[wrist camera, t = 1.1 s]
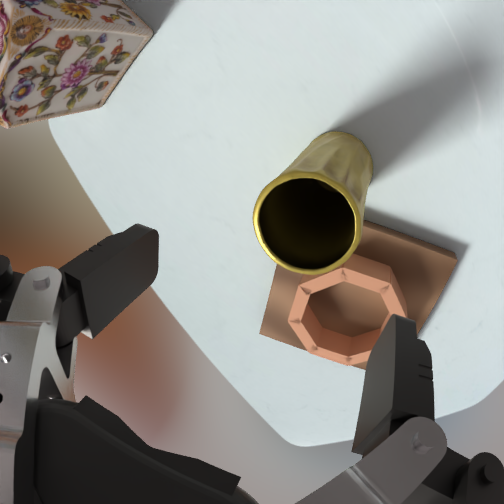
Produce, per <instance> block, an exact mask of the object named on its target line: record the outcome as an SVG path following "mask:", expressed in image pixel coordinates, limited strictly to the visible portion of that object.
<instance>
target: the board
mask: <svg viewBox="0 0 504 504" xmlns="http://www.w3.org/2000/svg"><path fill="white" fill-rule="evenodd" d="M353 254H356V255H359V256H362V257H365V258H368V259H371V260H374V261H377V262H379V263H382V264H385V265H388V266H390V267H391V269H392V271H393V273H394V275H395V277H396V280H397V282H398V284H399V286H400V289H401V291H402V293H403V295H404V298H405V300H406V302H407V317H408V318H409V319H412V320H415V322H416V329H417V334H418V332H419V331H420V329H421V327H422V326H423V324H424V322H425V321H426V319H427V317H428V316H429V314H430V312H431V310H432V309H433V307H434V305H435V303H436V301H437V300H438V298H439V296H440V294H441V292H442V290H443V288H444V287H445V285H446V283H447V281H448V279H449V277H450V275H451V273H452V271H453V269H454V267H455V265H456V263H457V261H458V260H457V257H456V255H455V253H454V252H451V251H448V250H446V249H443V248H441V247H438V246H435V245H433V244H430V243H428V242H425V241H422V240H419V239H417V238H414V237H411V236H409V235H406V234H403V233H400V232H397V231H395V230H392V229H389V228H386V227H383V226H380V225H377V224H375V223H372V222H369V221H366V220H363V231H362V237H361V240H360V242H359V244H358V246H357V248H356V250H355V251H354V252H353ZM302 277H303V274H301V273H296V272H292V271H290V270H287V269H285V268H283V267H282V266H280V265H278V264H277V266H276V270H275V274H274V278H273V282H272V286H271V290H270V294H269V298H268V302H267V306H266V310H265V314H264V318H263V321H262V325H261V329H260V333H259V334H261V335H264V336H267V337H270V338H272V339H275V340H278V341H280V342H283V343H286V344H289V345H292V346H294V347H297V348H300V349H303V350H306V351H307V349H306V348H305V346H304V345H303V343H302V342H301V340H300V339H299V337H298V336H297V334H296V333H295V332H294V330H293V329H292V327H291V326H290V324H289V323H288V318H289V315H290V311H291V308H292V305H293V302H294V299H295V295H296V292H297V289H298V286H299V283H300V281H301V279H302ZM308 305H309V306H310V308H311V310H312V311H313V313H314V314H315V316H316V318H317V319H318V321H319V322H320V324H321V326H322V327H323V328H325V329H328V330H331V331H334V332H337V333H340V334H343V335H346V336H349V337H354V336H357V335H361V334H364V333H367V332H370V331H373V330H376V329H379V328H381V326H382V325H383V323H384V321H385V319H386V317H387V315H388V313H389V311H388V309H387V306H386V304H385V302H384V300H383V298H382V296H381V294H380V293H378V292H375V291H372V290H369V289H366V288H363V287H360V286H357V285H354V284H351V283H348V282H345V281H343V282H340V283H338V284H335V285H333V286H330V287H327V288H325V289H322V290H320V291H317V292H314V293H312V294H311V295H310V298H309V301H308ZM366 365H367V361H365V362H361V363H358V364H354V365H351V366H354V367H357V368H361V369H364V370H366Z"/></svg>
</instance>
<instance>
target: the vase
mask: <svg viewBox="0 0 504 504" xmlns="http://www.w3.org/2000/svg"><path fill="white" fill-rule="evenodd" d="M372 175H373V163H372V158H371V155H370V153H369V151H368V150H367V148H366V147H365V146H364V144H363V143H362V142H361V141H360V140H359V139H357V138H356V137H354V136H352V135H350V134H348V133H344V132H328V133H325V134H322V135H320V136H319V137H317V138H316V139H314V140H313V141H312V142H311V143H310V145H309V146H308V147H307V148H306V149H305V150H304V151H303V152H302V153H301V154H300V155H299V156H298V157H297V158H296V159H295V160H294V161H293V163H292V164H291V165H290V166H289V167H288V168H287V169H286V170H284V171H283V172H282V173H281V174H280V175H279V176H278V177H277V178H276V179H274V180H273V181H272V182H270V183H269V184H268V185H267V186H266V187H265V188H264V189H263V190H262V191H261V193H260V195H259V197H258V199H257V201H256V204H255V207H254V211H253V225H254V230H255V233H256V237H257V239H258V241H259V243H260V245H261V246H262V248H263V249H264V251H265V252H266V253H267V255H268V256H269V257H270V258H271V259H272V260H273V261H274V262H276V263H277V264H278V265H280V266H282V267H283V268H285V269H287V270H290V271H292V272H296V273H301V274H307V275H317V274H323V273H326V272H329V271H331V270H333V269H335V268H337V267H338V266H340V265H342V264H343V263H344V262H346V261H347V260H348V259H349V258H350V257H351V255H352V254H353V252H354V251H355V250H356V248H357V246H358V244H359V242H360V240H361V237H362V231H363V218H364V209H365V200H366V195H367V189H368V186H369V183H370V181H371V178H372Z"/></svg>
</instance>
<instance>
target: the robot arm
mask: <svg viewBox="0 0 504 504" xmlns="http://www.w3.org/2000/svg"><path fill="white" fill-rule="evenodd" d="M158 252H159V234H158V232H157V230H155V229H152V228H149V227H146V226H144V225H141V224H135V225H133V226H131V227H130V228H128V229H127V230H125V231H124V232H121V233H117V234H114V235H111V236H108V237H106V238H105V239H103V240H102V241H100V242H99V243H97V245H94V246H92V247H91V248H89V250H88V251H87V250H86V251H85V252H83V253H82V254H80V255H79V256H77V257H76V258H74V259H73V260H71V261H70V262H68V263H67V264H65V265H64V266H62V267H61V268H60V269H56V268H54V267H49V266H42V267H37V268H34V269H32V270H30V271H28V272H27V273H26V274H22V273H18V272H13V271H12V267H11V264H10V260H9V259H8V257H6V256H3V255H0V504H258V503H257V501H256V500H255V499H254V498H253V497H251V496H250V495H249V494H248V493H246V491H244V490H242V489H241V488H240V487H238V486H237V485H238V483H239V480H240V478H241V477H239V476H237V475H234V474H232V473H229V472H227V471H224V470H222V469H219V468H217V467H215V466H213V465H210V464H208V463H206V462H204V461H201V460H199V459H196V458H191V457H187V456H183V455H178V454H174V453H170V452H166V451H163V450H159V449H155V448H152V447H150V446H149V445H147V444H146V443H145V442H144V441H143V440H142V439H141V438H140V437H138V436H137V435H136V434H135V433H134V432H133V431H132V430H131V429H130V428H129V427H128V426H127V425H126V424H125V423H124V422H123V421H122V420H121V419H120V418H119V417H118V416H117V415H115V414H114V413H112V412H111V411H109V410H107V409H106V408H104V407H103V406H101V405H100V404H98V403H96V402H95V401H94V400H92V399H91V398H89V397H88V396H85V397H84V398H83V399H82V400H81V401H80V402H79V403H77V402H76V399H75V394H74V373H75V361H76V351H77V337H76V336H77V335H78V334H79V333H80V332H82V333H83V334H85V335H87V336H88V337H90V338H92V339H93V338H94V337H95V336H96V335H97V334H98V333H100V332H101V331H102V330H103V329H104V328H105V327H106V326H107V325H108V324H109V323H110V322H111V321H112V320H113V319H114V318H115V317H116V316H118V315H119V314H120V313H121V312H122V311H123V310H124V309H125V308H126V307H127V306H128V305H129V304H130V303H132V302H133V301H134V300H135V299H136V298H137V297H138V296H139V295H140V294H141V293H142V292H143V291H145V289H147V288H148V287H149V286H150V285H151V284H152V283H153V282H154V280H155V278H156V276H157V273H158ZM432 380H433V370H432V357H431V353H430V351H429V349H428V347H427V345H426V343H425V341H423V340H420V339H417V329H416V322H415V320H412V319H409V318H406V317H403V316H400V315H397V314H392V315H391V317H390V318H389V320H388V322H387V324H386V325H385V327H384V329H383V331H382V333H381V334H380V336H379V338H378V340H377V341H376V343H375V345H374V347H373V349H372V351H371V353H370V355H369V358H368V361H367V365H366V372H365V379H364V386H363V393H362V399H361V405H360V411H359V416H358V422H357V427H356V432H355V437H354V442H353V447H352V452H353V453H357V454H361V455H363V456H362V459H361V460H360V461H359V462H358V463H356V464H355V465H354V466H352V467H349V468H348V469H346V470H345V471H344V472H342V473H341V474H339V475H338V476H336V477H335V478H334V479H332V480H331V481H329V482H328V483H326V484H325V485H323V486H322V487H320V488H319V489H318V490H316V491H314V492H313V493H311V494H310V495H308V496H306V497H305V498H303V499H302V500H300V501H298V502H297V503H295V504H504V467H503V465H502V463H501V461H500V460H499V459H498V458H497V457H496V456H494V455H493V454H491V453H487V452H484V453H479V454H477V455H476V456H474V457H473V458H472V459H468V458H466V457H464V456H462V455H460V454H458V453H457V452H454V451H453V450H451V449H450V448H448V447H447V439H446V436H445V433H444V432H443V430H442V428H441V427H440V426H439V425H438V424H437V423H436V422H435V419H434V387H433V381H432Z"/></svg>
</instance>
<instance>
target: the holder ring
mask: <svg viewBox="0 0 504 504" xmlns="http://www.w3.org/2000/svg"><path fill="white" fill-rule="evenodd" d="M343 281H345V282H348V283H351V284H354V285H357V286H360V287H363V288H366V289H369V290H372V291H375V292H378V293H380V294H381V296H382V298H383V300H384V302H385V304H386V306H387V309H388V311H389V313H388V315H387V317H386V319H385V321H384V323H383V325H382V326H381V328H379V329H376V330H373V331H370V332H367V333H364V334H361V335H357V336H354V337H349V336H346V335H343V334H340V333H337V332H334V331H331V330H328V329H325V328H323V327H322V326H321V324H320V322H319V321H318V319H317V318H316V316H315V314H314V313H313V311H312V310H311V308H310V306H309V305H308V301H309V298H310V295H311V294H312V293H314V292H317V291H320V290H322V289H325V288H327V287H330V286H333V285H335V284H338V283H340V282H343ZM392 314H397V315H400V316H403V317H406V318H408V317H407V302H406V300H405V298H404V295H403V293H402V291H401V289H400V286H399V284H398V282H397V280H396V277H395V275H394V273H393V271H392V269H391V267H390V266H388V265H385V264H382V263H379V262H377V261H374V260H371V259H368V258H365V257H362V256H359V255H356V254H352V255H351V257H350V258H349V259H348V260H347V261H346V262H344V263H343V264H342V265H340V266H338V267H337V268H335V269H333V270H331V271H329V272H326V273H323V274H317V275H307V274H303V277H302V279H301V281H300V283H299V286H298V289H297V292H296V295H295V299H294V302H293V305H292V308H291V311H290V315H289V318H288V323H289V324H290V326H291V327H292V329H293V330H294V332H295V333H296V334H297V336H298V337H299V339H300V340H301V342H302V343H303V345H304V346H305V348H306V349H307V351H308V352H309V353H311V354H314V355H317V356H320V357H323V358H326V359H329V360H332V361H335V362H338V363H341V364H344V365H347V366H348V365H349V366H350V365H354V364H358V363H361V362H365V361H368V358H369V355H370V353H371V351H372V349H373V347H374V345H375V343H376V341H377V340H378V338H379V336H380V334H381V333H382V331H383V329H384V327H385V325H386V324H387V322H388V320H389V318H390V317H391V315H392Z"/></svg>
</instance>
